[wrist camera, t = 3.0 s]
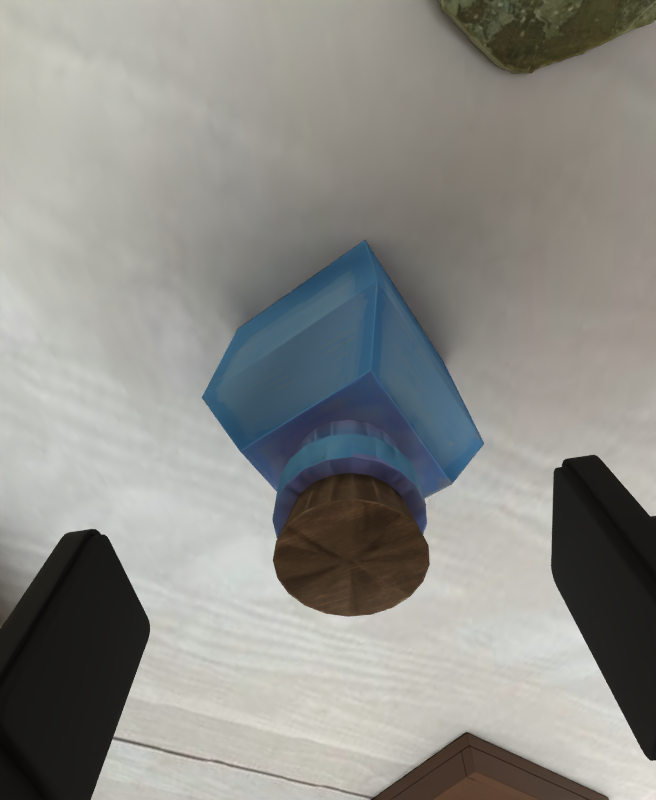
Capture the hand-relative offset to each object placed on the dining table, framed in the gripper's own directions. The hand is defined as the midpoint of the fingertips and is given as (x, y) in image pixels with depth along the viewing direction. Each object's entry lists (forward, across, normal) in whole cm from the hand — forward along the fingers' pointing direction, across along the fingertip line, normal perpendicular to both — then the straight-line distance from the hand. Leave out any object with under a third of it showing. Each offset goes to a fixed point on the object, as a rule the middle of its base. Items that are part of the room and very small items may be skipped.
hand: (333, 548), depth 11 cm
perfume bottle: (+12, 0, 0) cm, 12 cm away
